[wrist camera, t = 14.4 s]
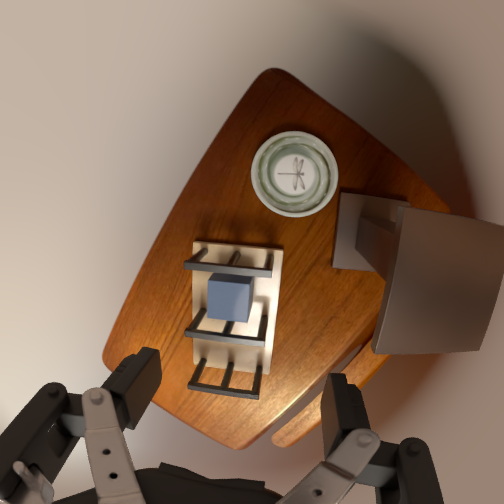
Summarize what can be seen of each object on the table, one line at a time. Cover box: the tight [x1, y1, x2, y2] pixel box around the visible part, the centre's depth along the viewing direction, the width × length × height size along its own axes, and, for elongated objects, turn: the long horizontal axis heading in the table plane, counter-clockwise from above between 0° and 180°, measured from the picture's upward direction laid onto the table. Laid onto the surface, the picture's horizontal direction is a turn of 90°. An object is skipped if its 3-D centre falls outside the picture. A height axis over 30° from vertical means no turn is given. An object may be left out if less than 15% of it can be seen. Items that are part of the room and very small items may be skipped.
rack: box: [184, 241, 284, 400], centre depth 35 cm, size 18×11×7 cm, turn 176°
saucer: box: [251, 131, 338, 217], centre depth 32 cm, size 10×10×2 cm
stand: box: [331, 192, 504, 354], centre depth 24 cm, size 9×9×20 cm
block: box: [207, 273, 254, 323], centre depth 34 cm, size 5×5×5 cm
